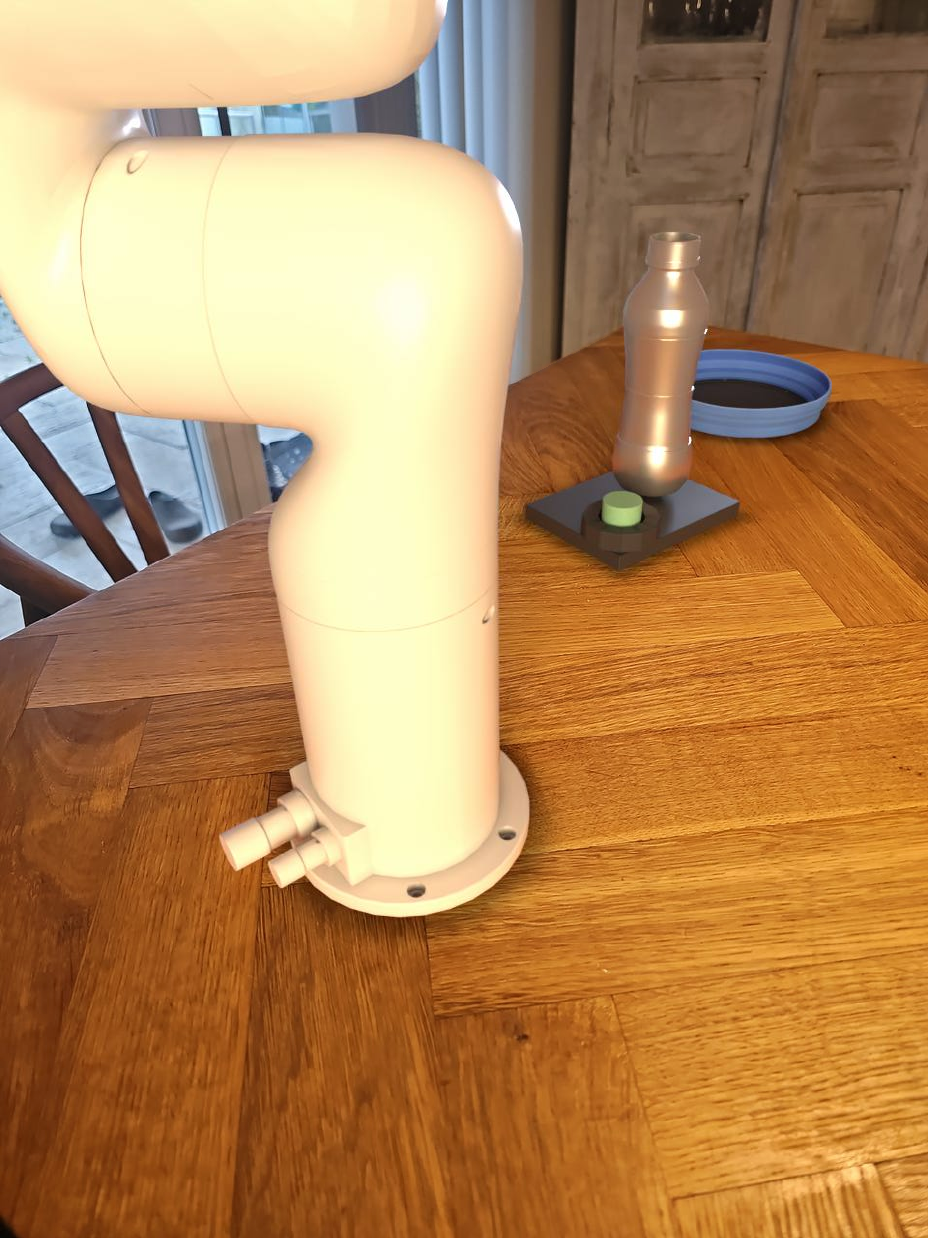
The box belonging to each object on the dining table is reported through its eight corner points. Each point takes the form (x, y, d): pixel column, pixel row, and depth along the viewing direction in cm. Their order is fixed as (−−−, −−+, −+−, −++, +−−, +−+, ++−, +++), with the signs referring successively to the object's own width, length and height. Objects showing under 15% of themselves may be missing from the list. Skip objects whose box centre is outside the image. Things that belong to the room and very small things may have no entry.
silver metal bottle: (656, 514, 69) (686, 250, 57) (593, 487, 73) (609, 237, 61) (704, 489, 72) (741, 235, 61) (641, 465, 76) (665, 224, 65)
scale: (618, 576, 64) (621, 542, 62) (521, 520, 71) (521, 488, 70) (742, 518, 71) (748, 485, 69) (641, 472, 78) (644, 442, 77)
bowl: (620, 420, 89) (623, 387, 87) (688, 369, 101) (692, 339, 99) (794, 457, 80) (801, 421, 78) (845, 397, 92) (853, 365, 90)
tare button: (621, 533, 64) (622, 512, 63) (593, 518, 66) (594, 498, 65) (648, 520, 65) (651, 500, 64) (620, 507, 67) (622, 486, 66)
